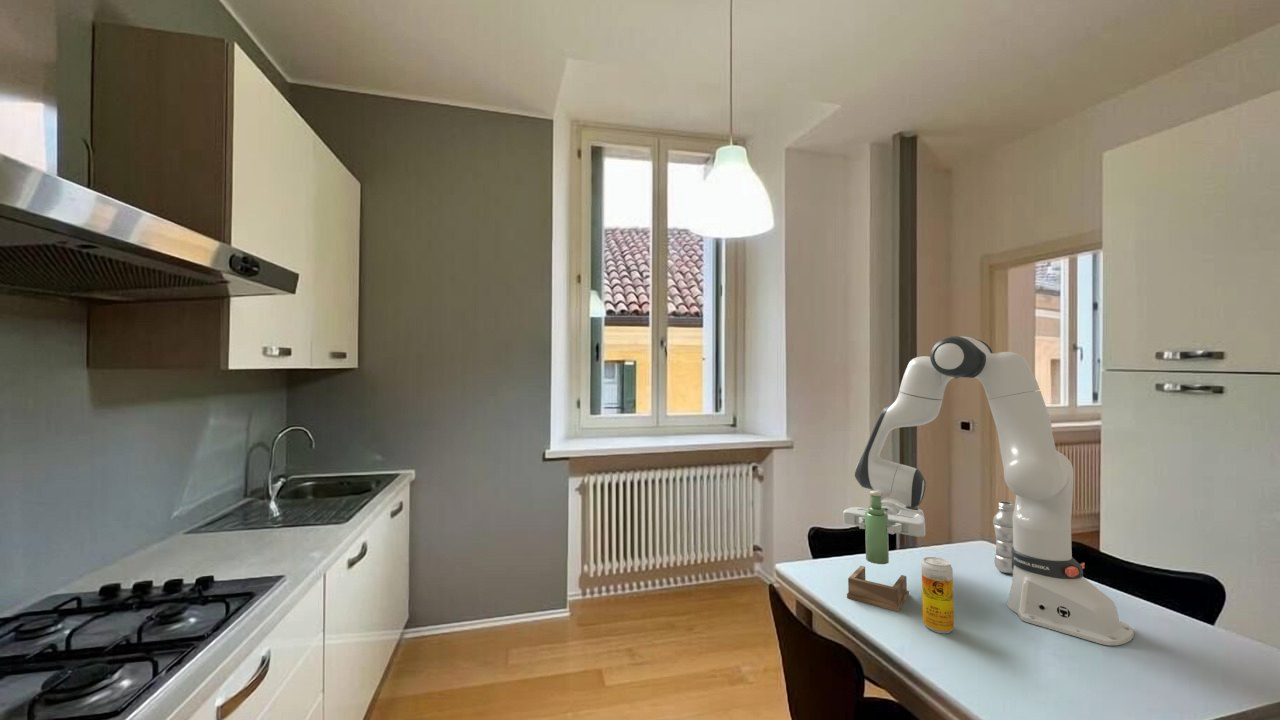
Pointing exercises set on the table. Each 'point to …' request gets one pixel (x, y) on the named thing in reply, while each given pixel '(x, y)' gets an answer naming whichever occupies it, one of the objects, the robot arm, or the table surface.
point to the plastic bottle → (1004, 536)
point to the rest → (877, 591)
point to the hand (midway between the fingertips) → (875, 528)
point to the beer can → (937, 594)
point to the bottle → (876, 531)
